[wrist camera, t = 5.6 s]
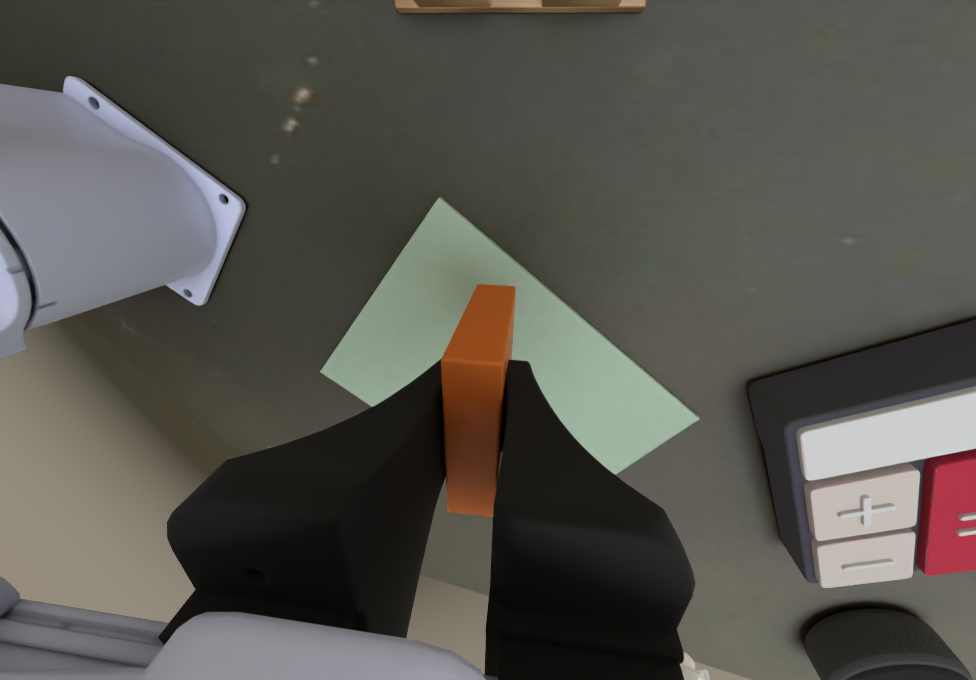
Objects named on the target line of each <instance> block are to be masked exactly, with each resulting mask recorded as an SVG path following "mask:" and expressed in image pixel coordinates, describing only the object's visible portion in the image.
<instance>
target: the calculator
mask: <svg viewBox="0 0 976 680" xmlns="http://www.w3.org/2000/svg"><path fill="white" fill-rule="evenodd" d="M748 390H749V396H750V401H751V406H752V412H753V417H754V422H755V427H756V430H757V433H758V435H759V437H760V440H761V442H762V445H763V448H764V453H765V458H766V463H767V469H768V474H769V479H770V485H771V490H772V495H773V501H774V506H775V511H776V517H777V522H778V527H779V533H780V538H781V541H782V543H783V544H784V546H785V547H786V549H787V551H788V552H789V554H790V555H791V557H792V559H793V560H794V562H795V563H796V565H797V566H798V568H799V570H800V571H801V573H802V574H803V576H804V577H805V579H806V580H807V581H808V582H810V583H820V585H821V586H822V587H823V588H832V587H840V586H848V585H857V584H865V583H873V582H881V581H890V580H898V579H905V578H910V577H912V575H913V571H916V570H921V571H922V572H923V573H924V574H925V575H939V574H947V573H956V572H964V571H972V570H976V320H973V321H969V322H966V323H962V324H958V325H955V326H951V327H948V328H944V329H940V330H937V331H933V332H930V333H926V334H922V335H919V336H915V337H912V338H908V339H905V340H901V341H897V342H894V343H890V344H887V345H883V346H879V347H876V348H872V349H869V350H865V351H861V352H858V353H854V354H851V355H847V356H843V357H840V358H836V359H833V360H829V361H825V362H822V363H818V364H815V365H811V366H807V367H804V368H800V369H797V370H793V371H790V372H786V373H782V374H779V375H775V376H772V377H768V378H764V379H761V380H757V381H754V382H752V383H751V384H750V385H749V388H748Z"/></svg>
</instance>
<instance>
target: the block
mask: <svg viewBox="0 0 976 680" xmlns="http://www.w3.org/2000/svg"><path fill="white" fill-rule="evenodd" d="M515 295H516V287H515V286H504V285H487V284H477V286H476V288H475V290H474V292H473V294H472V296H471V298H470V301H469V303H468V305H467V307H466V309H465V311H464V313H463V315H462V317H461V319H460V321H459V323H458V325H457V328H456V330H455V332H454V334H453V336H452V338H451V340H450V342H449V344H448V346H447V348H446V350H445V352H444V355H443V357H442V359H441V374H442V397H443V421H444V444H445V467H446V490H447V509H448V511H449V512H454V513H463V514H471V515H479V516H487V517H493V509H494V500H495V495H496V489H497V483H498V477H499V471H500V465H501V458H502V445H503V426H504V407H505V388H506V372H507V367H508V362H509V360H512V346H513V329H514V312H515Z"/></svg>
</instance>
